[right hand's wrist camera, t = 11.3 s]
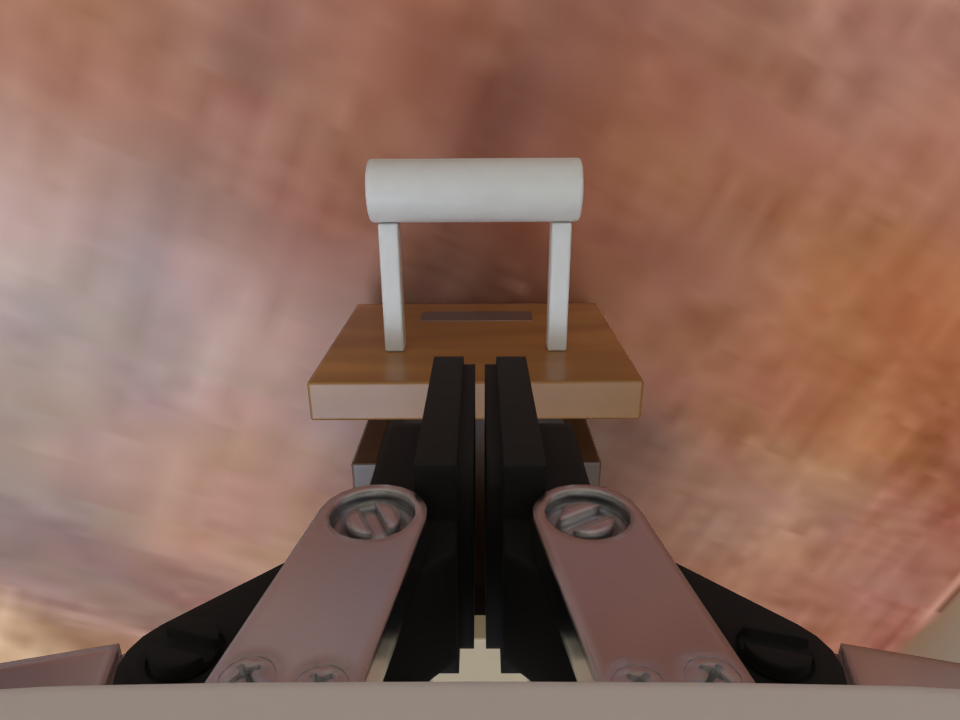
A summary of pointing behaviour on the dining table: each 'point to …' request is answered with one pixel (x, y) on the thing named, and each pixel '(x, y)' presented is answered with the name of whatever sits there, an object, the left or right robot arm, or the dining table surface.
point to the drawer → (474, 317)
